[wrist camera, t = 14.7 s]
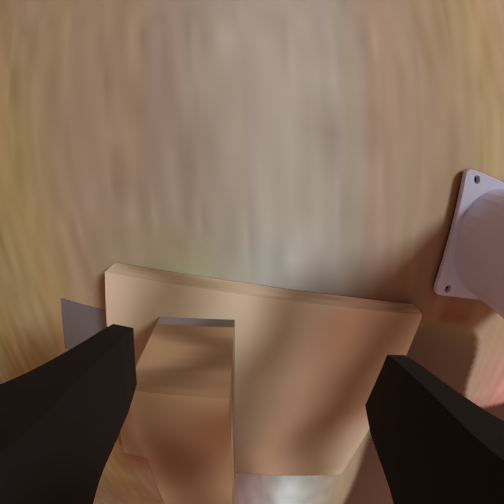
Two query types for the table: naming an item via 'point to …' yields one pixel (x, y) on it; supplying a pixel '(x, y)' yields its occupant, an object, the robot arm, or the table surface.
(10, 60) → the table surface
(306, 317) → the birch board
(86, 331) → the charcoal chip
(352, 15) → the table surface
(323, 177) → the table surface
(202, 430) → the block
